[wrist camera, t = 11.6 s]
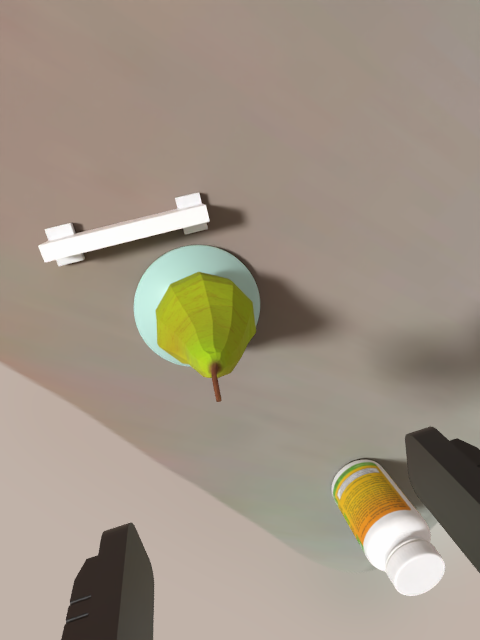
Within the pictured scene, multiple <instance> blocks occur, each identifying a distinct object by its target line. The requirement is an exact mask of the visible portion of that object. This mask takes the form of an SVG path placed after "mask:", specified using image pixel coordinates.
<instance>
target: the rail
mask: <svg viewBox="0 0 480 640" xmlns="http://www.w3.org/2000/svg"><path fill="white" fill-rule="evenodd" d="M175 200H176V204H177V208H178V209H174V210H170V211H166V212H162V213H157V214H153V215H149V216H145V217H141V218H137V219H133V220H129V221H124V222H120V223H116V224H112V225H108V226H104V227H100V228H96V229H91V230H87V231H83V232H79V233H76V232H75V230H74V227H73V224H72V223H68V224H64V225H60V226H55V227H51V228H47V229H44V230H45V232H46V235H47V237H48V240H49V241H47V242H45V243H43V244H40V245H38V247H39V249H40V252H41V254H42V257H43V259H44V262H48V261H52V260H56V261H57V263H58V266H62V265H66V264H70V263H74V262H78V261H82V260H84V259H85V257H84V254H83V253H84V252H89V251H93V250H97V249H101V248H105V247H109V246H113V245H117V244H121V243H125V242H129V241H133V240H137V239H141V238H145V237H149V236H153V235H157V234H161V233H165V232H169V231H173V230H177V229H181V228H183V230H184V234H185V235H186V234H190V233H194V232H198V231H202V230H206V229H208V227H207V223H206V222H210V220H209V216H208V212H207V208H206V205H205V204H202V202H201V198H200V194H199V192H198V193H193V194H189V195H185V196H181V197H177V198H175Z"/></svg>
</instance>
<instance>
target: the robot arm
mask: <svg viewBox="0 0 480 640" xmlns="http://www.w3.org/2000/svg"><path fill="white" fill-rule="evenodd" d="M405 444H406V454H407V465H408V474H409V479H410V482H411V485H412V487H413V489H414V491H415V493H416V494H417V496H418V497H419V498H420V500H421V501H422V502H423V503H424V505H425V506H426V507H427V508H428V510H429V511H430V512H431V513H432V515H433V516H434V517H435V518H436V520H437V521H438V522H439V523H440V525H441V526H442V527H443V528H444V529H445V531H446V532H447V533H448V534H449V536H450V537H451V538H452V539H453V541H454V542H455V543H456V544H457V546H458V547H459V548H460V549H461V551H462V552H463V553H464V554H465V555H466V557H467V558H468V559H469V560H470V561H471V563H472V564H473V565H474V566H475V568H476V569H477V570H478V572H479V573H480V450H479V449H478V448H477V447H475V446H473V445H470V444H468V443H466V442H464V441H462V440H459V439H454V440H451V441H449V440H448V439H447V438H446V437H444V436H443V435H442V434H441V433H440V432H439V431H438V430H437V429H435V428H434V427H428V428H424V429H421V430H418V431H415V432H412V433H409V434H407V435H406V436H405ZM153 615H154V578H153V571H152V567H151V563H150V560H149V558H148V555H147V553H146V551H145V549H144V546H143V544H142V542H141V539H140V537H139V535H138V533H137V530H136V528H135V526H134V525H133V523H128V524H125V525H122V526H119V527H116V528H113V529H110V530H107V531H104V532H103V534H102V537H101V542H100V548H99V554H98V556H95V557H92V558H89V559H86V561H85V563H84V565H83V567H82V568H81V570H80V572H79V573H78V575H77V577H76V579H75V581H74V585H73V590H72V594H71V599H70V606H69V608H68V613H67V617H66V624H65V626H64V631H63V635H62V639H61V640H153Z"/></svg>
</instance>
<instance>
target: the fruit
mask: <svg viewBox="0 0 480 640" xmlns="http://www.w3.org/2000/svg"><path fill="white" fill-rule="evenodd" d="M155 311H156V320H157V344H158V346H159V347H160V348H161V349H163V350H164V351H166V352H167V353H168V354H170V355H171V356H173V357H174V358H175V359H177V360H178V361H180V362H181V363H183V364H189V365H190V366H191V367H193V368H194V369H195V370H196V371H197V372H198V373H200V374H201V375H202V376H203V377H207V378H212V381H213V386H214V391H215V396H216V401H217V402H220V401H221V395H220V390H219V385H218V379H217V378H219V377H221V376H224V375H227V374H229V373H231V372H232V371H233V369H234V368H235V366H236V365H237V363H238V361H239V360H240V358H241V357H242V355H243V353H244V351H245V349H246V347H247V344H248V343H249V341H250V340H251V339H252V337H253V336H254V335H255V333H256V326H255V317H254V309H253V302H252V301H251V300H250V299H249V298H248V297H247V296H246V295H245V294H244V293H243V292H242V291H241V290H240V289H239V288H238V287H237V286H236V284H235V283H234V282H233V281H231V280H230V279H228V278H224V277H220V276H215V275H211V274H207V273H202V272H197V273H194V274H192V275H190V276H187V277H185V278H183V279H181V280H178V281H176V282H174V283H171V284H170V285H169V287H168V289H167V291H166V293H165V294H164V296H163V298H162V300H161V301H160V303H159V305H158V307H157V309H156V310H155Z"/></svg>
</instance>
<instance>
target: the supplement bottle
mask: <svg viewBox="0 0 480 640" xmlns="http://www.w3.org/2000/svg"><path fill="white" fill-rule="evenodd" d="M332 495H333V498H334V500H335V502H336V504H337V506H338V507H339V509H340V511H341V513H342V514H343V516H344V518H345V519H346V521H347V523H348V525H349V527H350V528H351V530H352V532H353V534H354V535H355V537H356V539H357V541H358V542H359V544H360V546H361V548H362V550H363V551H364V553H365V555H366V557H367V558H368V560H369V561H370V563H371V564H372V565H373V566H375V567H376V568H377V569H379V570H382V571H385V572H386V573H387V575H388V577H389V579H390V580H391V582H392V583H393V585H394V587H395V588H396V590H397V591H398V592H399V593H401V594H403V595H407V596H414V595H419V594H422V593H425V592H427V591H429V590H430V589H432V588H433V587H434V586H435V585H436V584H437V583H438V582H439V581H440V580H441V578H442V576H443V574H444V571H445V563H444V560H443V558H442V557H441V556H440V554H439V553H438V551H437V550H436V548H435V547H434V546H433V545H432V544H431V543H430V540H431V534H430V530H429V527H428V525H427V523H426V522H425V520H424V519H423V517H422V516H421V515H420V514H419V512H418V511H417V510H416V509H415V507H414V506H413V505H412V504H411V502H410V501H409V500H408V499H407V497H406V496H405V495H404V494H403V492H402V491H401V490H400V488H399V487H398V486H397V485H396V483H395V482H394V481H393V480H392V478H391V477H390V476H389V475H388V473H387V472H386V471H385V470H384V469H383V468H382V466H381V465H379V464H378V463H377V462H375V461H372V460H366V459H364V460H357V461H353V462H351V463H349V464H347V465H346V466H344V467H343V468H342V469H341V470H340V471H339V472H338V473H337V475H336V476H335V478H334V480H333V483H332Z"/></svg>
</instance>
